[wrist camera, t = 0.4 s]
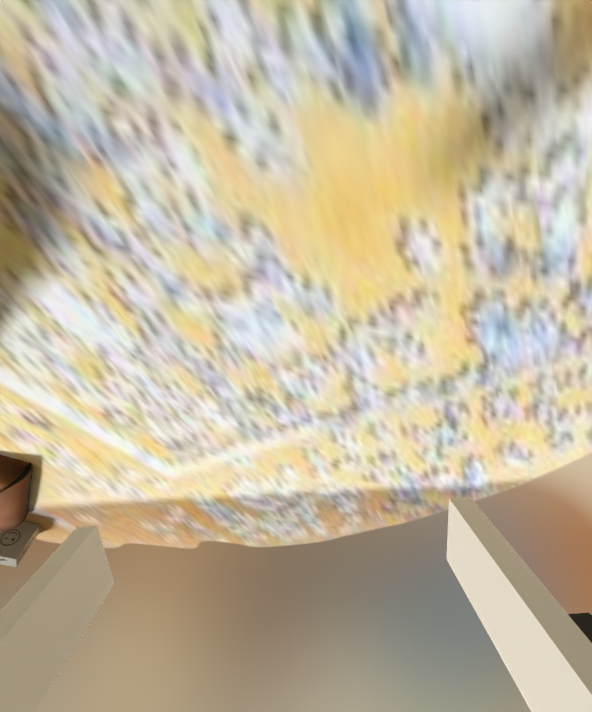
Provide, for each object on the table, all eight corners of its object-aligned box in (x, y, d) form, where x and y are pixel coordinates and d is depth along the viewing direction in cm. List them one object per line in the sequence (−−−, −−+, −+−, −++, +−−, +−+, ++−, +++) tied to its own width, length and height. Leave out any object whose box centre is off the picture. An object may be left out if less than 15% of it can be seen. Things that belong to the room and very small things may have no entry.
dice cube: (40, 523, 48) (16, 559, 44) (38, 532, 51) (16, 567, 47) (5, 516, 46) (-23, 552, 42) (6, 525, 49) (-21, 560, 45)
